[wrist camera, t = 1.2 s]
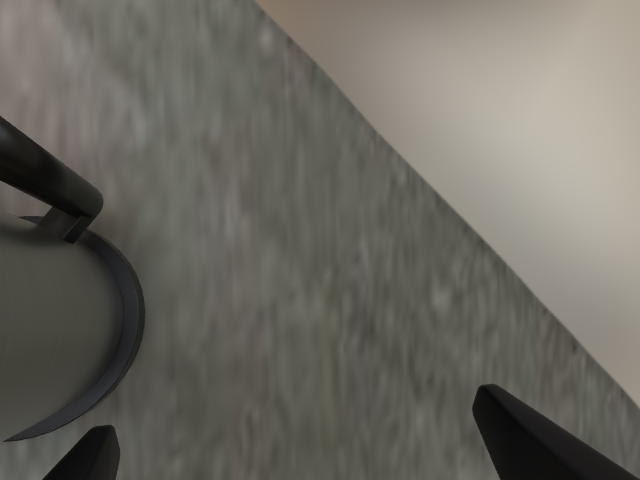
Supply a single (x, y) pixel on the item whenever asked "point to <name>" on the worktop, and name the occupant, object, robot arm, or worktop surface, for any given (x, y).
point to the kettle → (59, 298)
